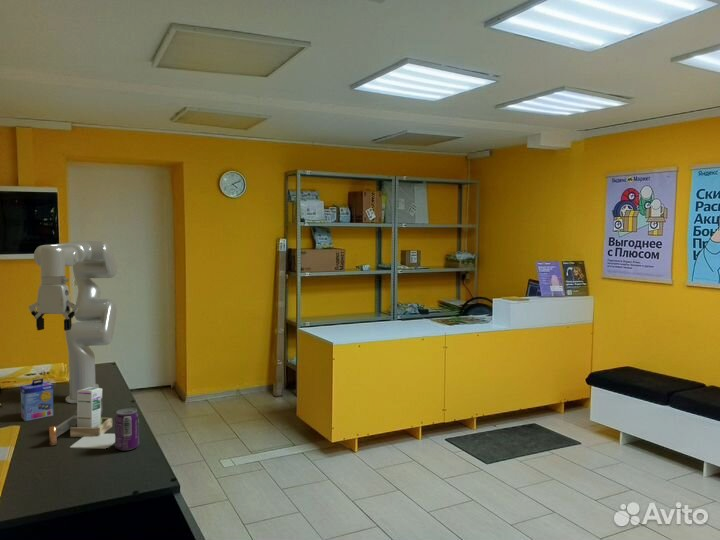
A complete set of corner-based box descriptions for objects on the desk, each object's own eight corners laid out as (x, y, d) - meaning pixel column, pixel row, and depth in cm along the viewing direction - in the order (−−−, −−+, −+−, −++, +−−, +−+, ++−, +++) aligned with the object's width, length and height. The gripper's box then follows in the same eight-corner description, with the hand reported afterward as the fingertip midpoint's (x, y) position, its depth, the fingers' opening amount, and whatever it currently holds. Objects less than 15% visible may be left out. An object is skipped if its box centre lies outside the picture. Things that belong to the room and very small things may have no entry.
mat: (88, 434, 194) (88, 433, 194) (123, 434, 194) (123, 433, 194) (69, 448, 182) (69, 446, 182) (107, 448, 182) (107, 447, 182)
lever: (77, 424, 203) (77, 409, 202) (84, 425, 203) (83, 409, 202) (47, 445, 184) (47, 428, 183) (55, 445, 184) (54, 428, 183)
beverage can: (144, 445, 185) (143, 409, 185) (128, 453, 179) (127, 415, 178) (126, 442, 188) (125, 406, 187) (110, 450, 181) (109, 413, 180)
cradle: (86, 425, 203) (86, 417, 203) (113, 426, 203) (112, 417, 203) (70, 436, 192) (70, 428, 192) (98, 437, 192) (98, 428, 192)
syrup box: (91, 433, 194) (92, 390, 194) (76, 432, 195) (77, 389, 195) (102, 429, 200) (103, 387, 200) (87, 427, 201) (88, 386, 201)
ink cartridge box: (25, 421, 206) (24, 382, 205) (20, 418, 210) (18, 379, 209) (54, 415, 213) (53, 377, 212) (49, 412, 217) (48, 374, 216)
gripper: (83, 281, 204) (83, 328, 205) (35, 280, 205) (36, 328, 206) (71, 282, 197) (72, 331, 198) (22, 282, 198) (23, 331, 198)
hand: (54, 330), depth 202 cm, fingers open, 9 cm apart
